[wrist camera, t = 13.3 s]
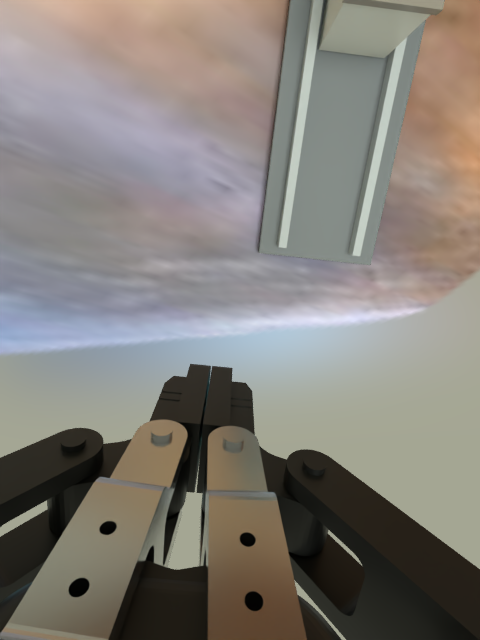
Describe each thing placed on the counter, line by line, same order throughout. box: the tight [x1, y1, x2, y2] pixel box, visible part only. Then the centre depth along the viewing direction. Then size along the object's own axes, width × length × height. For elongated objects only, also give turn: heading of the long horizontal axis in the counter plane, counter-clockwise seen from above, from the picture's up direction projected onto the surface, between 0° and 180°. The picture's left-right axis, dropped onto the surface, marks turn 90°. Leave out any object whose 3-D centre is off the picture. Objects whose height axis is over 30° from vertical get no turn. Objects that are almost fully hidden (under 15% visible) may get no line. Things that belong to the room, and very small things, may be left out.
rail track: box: [258, 0, 426, 265], centre depth 32 cm, size 12×28×8 cm, turn 174°
